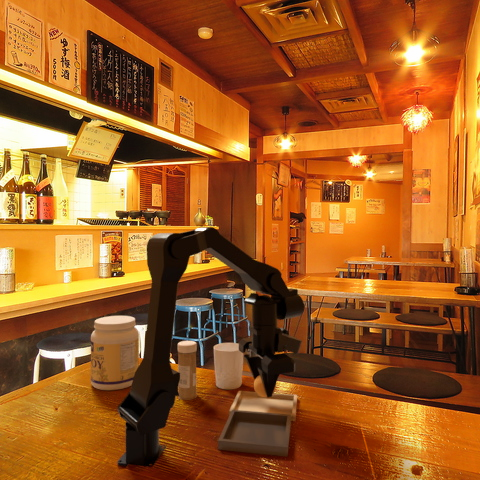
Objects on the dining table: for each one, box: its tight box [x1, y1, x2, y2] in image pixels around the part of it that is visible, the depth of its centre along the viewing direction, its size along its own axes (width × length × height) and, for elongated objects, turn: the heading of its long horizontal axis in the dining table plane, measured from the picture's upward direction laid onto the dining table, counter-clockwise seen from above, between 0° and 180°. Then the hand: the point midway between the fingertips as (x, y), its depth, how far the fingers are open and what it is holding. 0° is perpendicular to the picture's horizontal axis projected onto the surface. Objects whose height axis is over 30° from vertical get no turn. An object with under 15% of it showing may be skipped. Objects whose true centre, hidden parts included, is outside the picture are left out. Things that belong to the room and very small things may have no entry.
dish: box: [217, 410, 292, 457], centre depth 74 cm, size 12×12×2 cm
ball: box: [253, 375, 277, 397], centre depth 86 cm, size 5×5×5 cm
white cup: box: [213, 342, 244, 390], centre depth 101 cm, size 8×8×10 cm
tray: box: [228, 390, 298, 422], centre depth 86 cm, size 11×14×2 cm
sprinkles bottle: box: [177, 340, 198, 401], centre depth 92 cm, size 5×5×14 cm
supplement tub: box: [90, 315, 140, 391], centre depth 102 cm, size 12×12×17 cm
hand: (264, 392), depth 86 cm, fingers closed on ball, 5 cm apart
